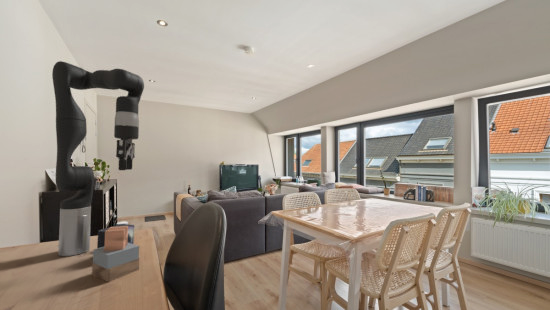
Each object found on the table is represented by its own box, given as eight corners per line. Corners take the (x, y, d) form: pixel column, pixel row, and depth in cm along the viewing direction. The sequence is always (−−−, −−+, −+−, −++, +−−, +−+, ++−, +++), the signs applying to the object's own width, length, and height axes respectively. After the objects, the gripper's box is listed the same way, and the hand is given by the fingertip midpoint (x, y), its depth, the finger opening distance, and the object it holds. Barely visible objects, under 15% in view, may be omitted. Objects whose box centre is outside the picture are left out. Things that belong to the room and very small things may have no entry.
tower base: (91, 276, 72) (92, 263, 72) (121, 265, 80) (122, 253, 80) (109, 283, 68) (109, 269, 68) (139, 270, 76) (139, 257, 76)
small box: (110, 262, 82) (111, 231, 82) (95, 260, 83) (96, 230, 84) (134, 251, 92) (135, 224, 93) (120, 249, 94) (121, 223, 94)
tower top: (92, 262, 73) (93, 249, 73) (123, 253, 80) (123, 241, 81) (107, 269, 68) (108, 255, 68) (138, 258, 76) (138, 245, 76)
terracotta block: (109, 245, 76) (110, 227, 76) (127, 244, 78) (128, 225, 78) (104, 251, 71) (105, 231, 71) (123, 249, 73) (124, 230, 73)
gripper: (120, 128, 92) (119, 169, 91) (108, 121, 78) (106, 170, 77) (142, 129, 94) (141, 169, 93) (134, 123, 81) (132, 170, 80)
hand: (125, 169), depth 85 cm, fingers open, 8 cm apart
